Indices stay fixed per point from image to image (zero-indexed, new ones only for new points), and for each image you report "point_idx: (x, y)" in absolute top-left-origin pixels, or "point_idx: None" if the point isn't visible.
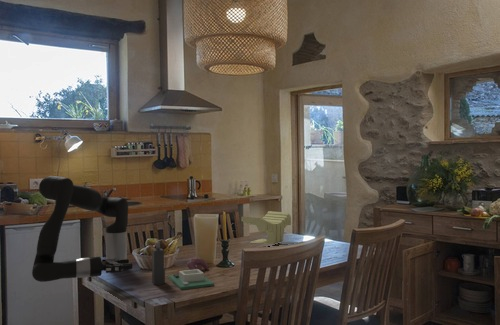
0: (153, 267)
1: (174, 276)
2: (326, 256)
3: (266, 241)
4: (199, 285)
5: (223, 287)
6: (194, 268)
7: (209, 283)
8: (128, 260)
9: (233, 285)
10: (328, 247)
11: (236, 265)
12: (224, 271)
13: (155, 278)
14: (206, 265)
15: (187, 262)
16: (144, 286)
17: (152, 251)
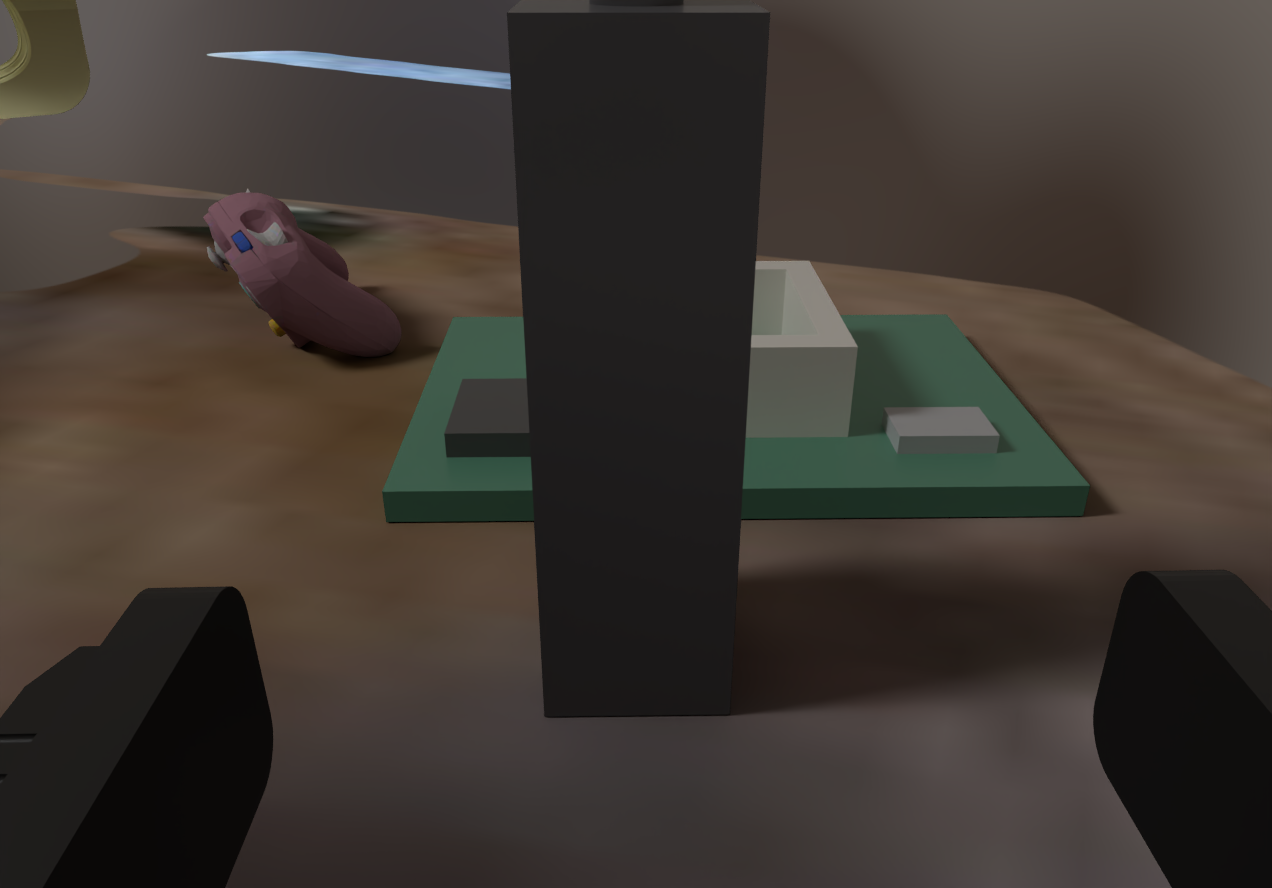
0: (668, 430)
1: (501, 455)
2: (471, 84)
3: (26, 77)
4: (998, 380)
5: (1010, 315)
6: (380, 300)
7: (947, 330)
8: (245, 619)
9: (953, 281)
10: (316, 67)
11: (355, 207)
12: (480, 253)
13: (731, 602)
14: (327, 251)
15: (237, 267)
16: (775, 874)
17: (561, 70)
